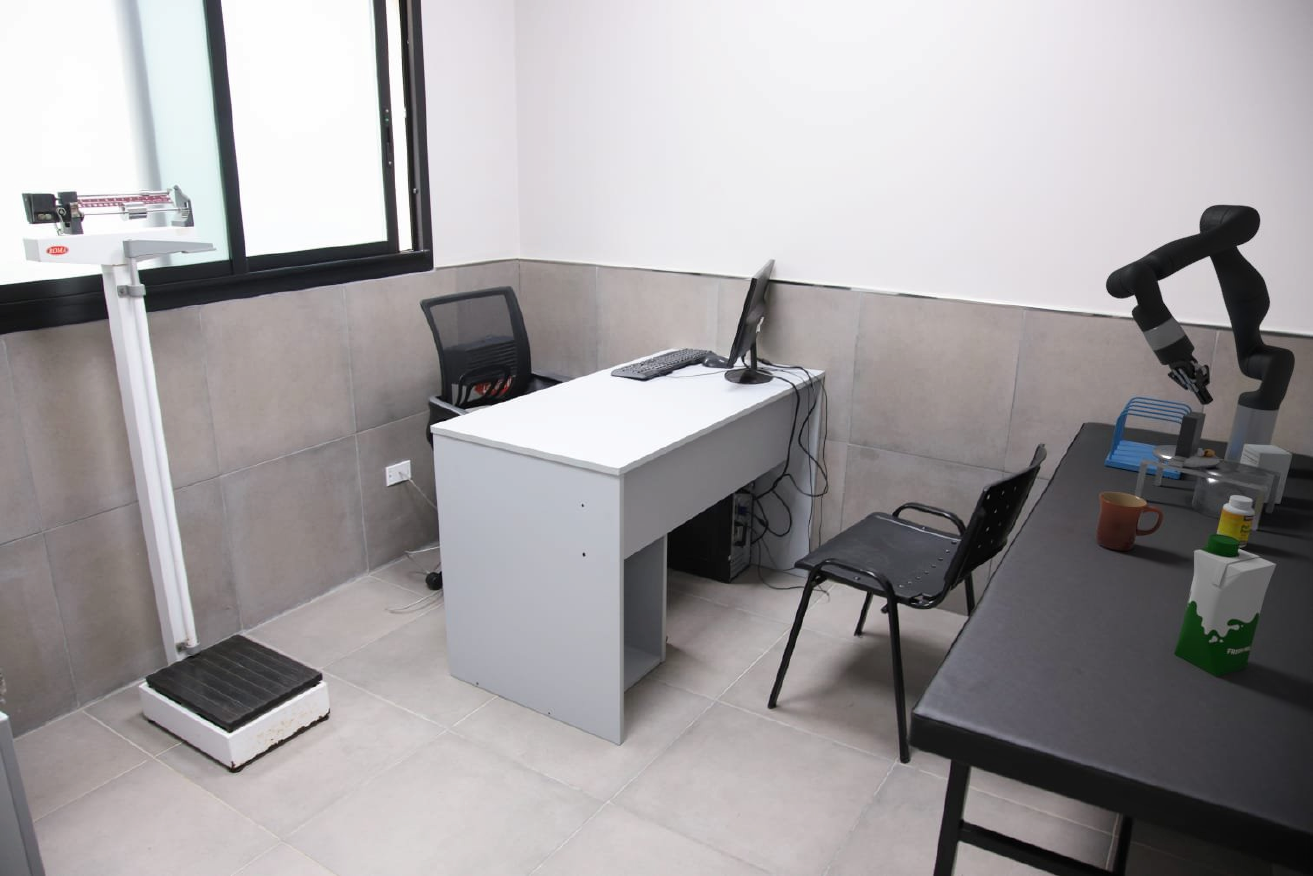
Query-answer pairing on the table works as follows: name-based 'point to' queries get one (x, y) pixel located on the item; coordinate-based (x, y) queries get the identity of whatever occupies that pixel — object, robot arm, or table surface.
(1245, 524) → the supplement bottle
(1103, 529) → the mug
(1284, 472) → the supplement box
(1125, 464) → the file sorter
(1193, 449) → the steel lid
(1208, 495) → the cooker pot
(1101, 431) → the table surface
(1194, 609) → the milk carton
